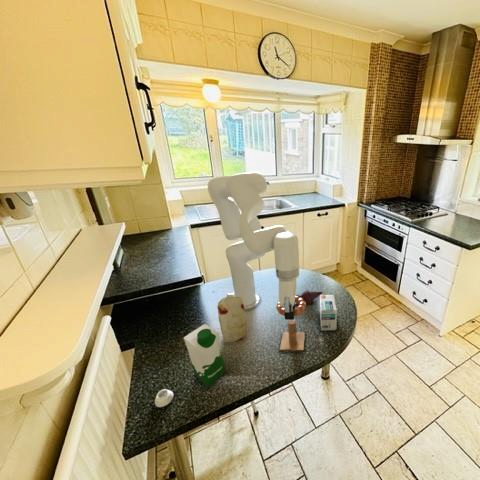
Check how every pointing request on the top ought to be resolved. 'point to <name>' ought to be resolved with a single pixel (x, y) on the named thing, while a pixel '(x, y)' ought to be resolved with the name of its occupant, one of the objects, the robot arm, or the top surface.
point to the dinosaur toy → (309, 296)
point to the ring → (296, 311)
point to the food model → (232, 318)
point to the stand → (292, 338)
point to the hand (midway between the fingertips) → (290, 315)
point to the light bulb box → (328, 312)
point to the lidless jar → (163, 397)
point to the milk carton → (205, 354)
